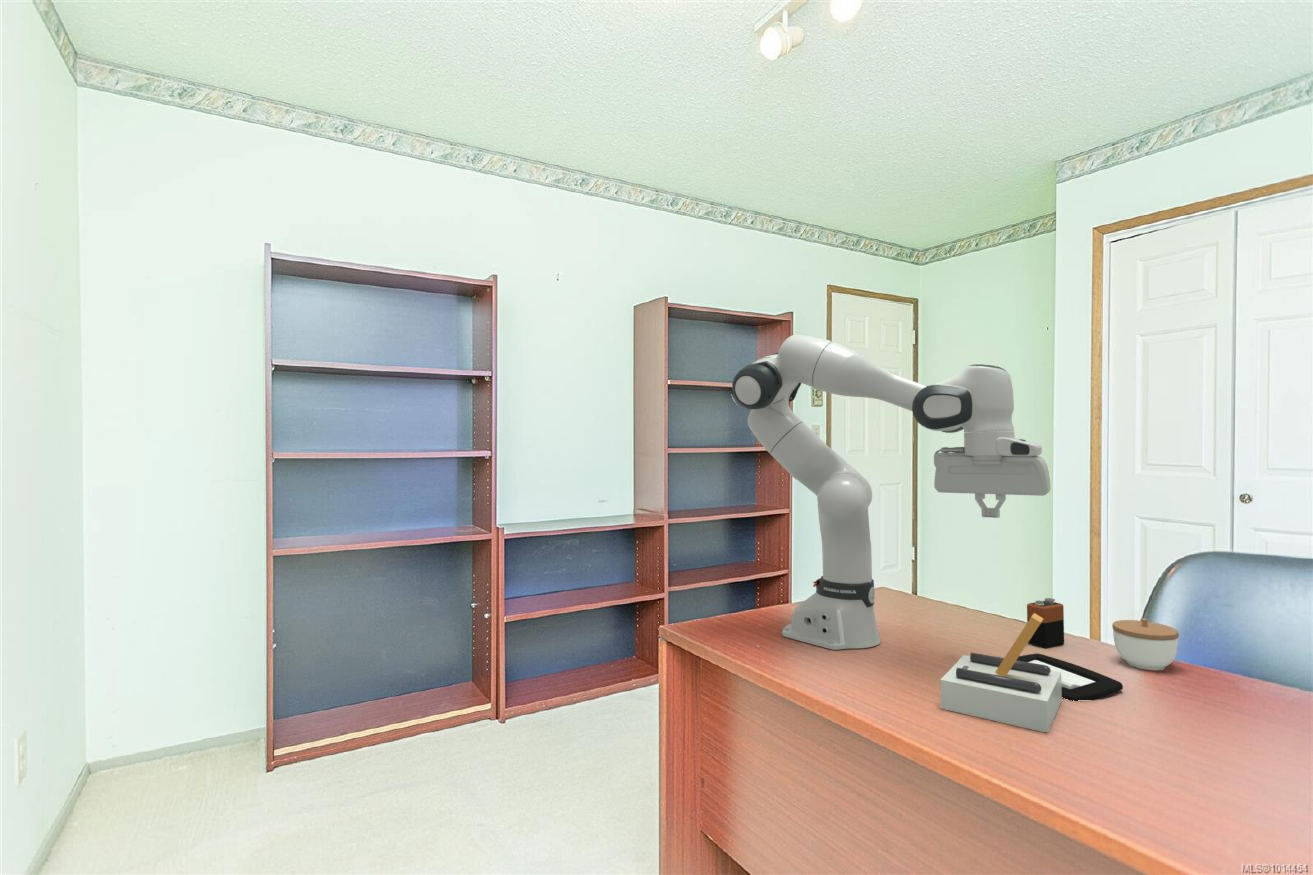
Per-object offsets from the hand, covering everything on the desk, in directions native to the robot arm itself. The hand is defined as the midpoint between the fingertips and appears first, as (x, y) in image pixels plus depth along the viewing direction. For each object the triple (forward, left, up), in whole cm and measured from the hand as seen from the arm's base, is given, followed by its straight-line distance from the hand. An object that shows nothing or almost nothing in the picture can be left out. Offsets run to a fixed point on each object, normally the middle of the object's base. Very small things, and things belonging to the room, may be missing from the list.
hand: (990, 517), depth 127 cm
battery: (+5, +28, -31) cm, 42 cm away
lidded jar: (+23, +24, -31) cm, 46 cm away
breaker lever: (+4, -14, -26) cm, 29 cm away
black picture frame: (+9, +5, -32) cm, 33 cm away
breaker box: (+4, -14, -31) cm, 34 cm away
